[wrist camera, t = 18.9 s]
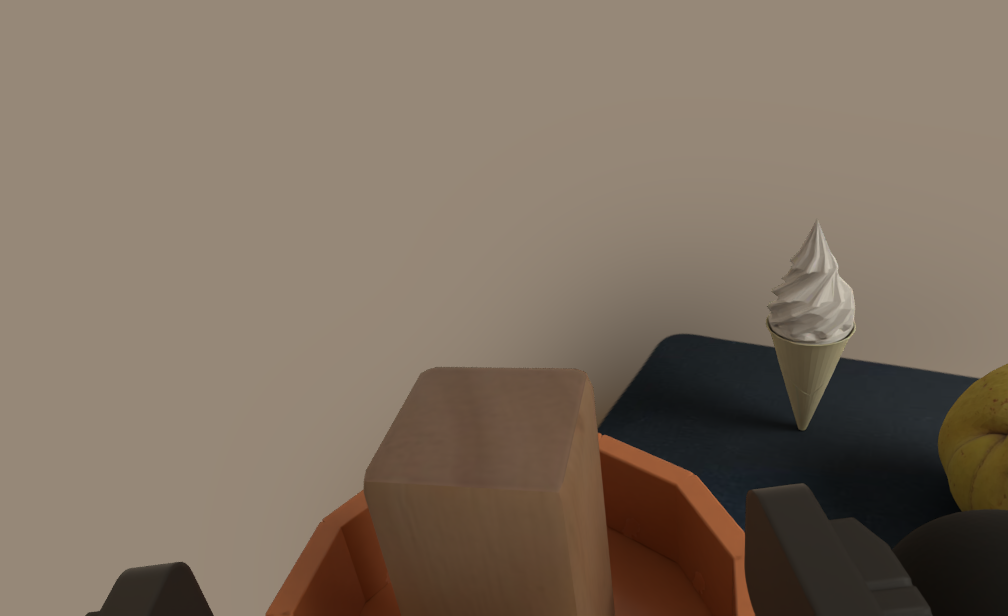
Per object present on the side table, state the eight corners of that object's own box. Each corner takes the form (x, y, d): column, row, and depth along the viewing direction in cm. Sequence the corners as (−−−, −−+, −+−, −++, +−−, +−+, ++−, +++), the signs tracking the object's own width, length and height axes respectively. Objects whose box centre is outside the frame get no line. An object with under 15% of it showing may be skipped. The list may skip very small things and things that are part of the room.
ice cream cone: (755, 445, 47) (763, 233, 40) (768, 400, 51) (777, 199, 44) (840, 460, 44) (864, 238, 37) (847, 412, 48) (870, 202, 41)
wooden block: (617, 611, 19) (594, 361, 15) (600, 764, 16) (566, 492, 12) (474, 596, 20) (420, 359, 17) (430, 738, 17) (349, 480, 13)
